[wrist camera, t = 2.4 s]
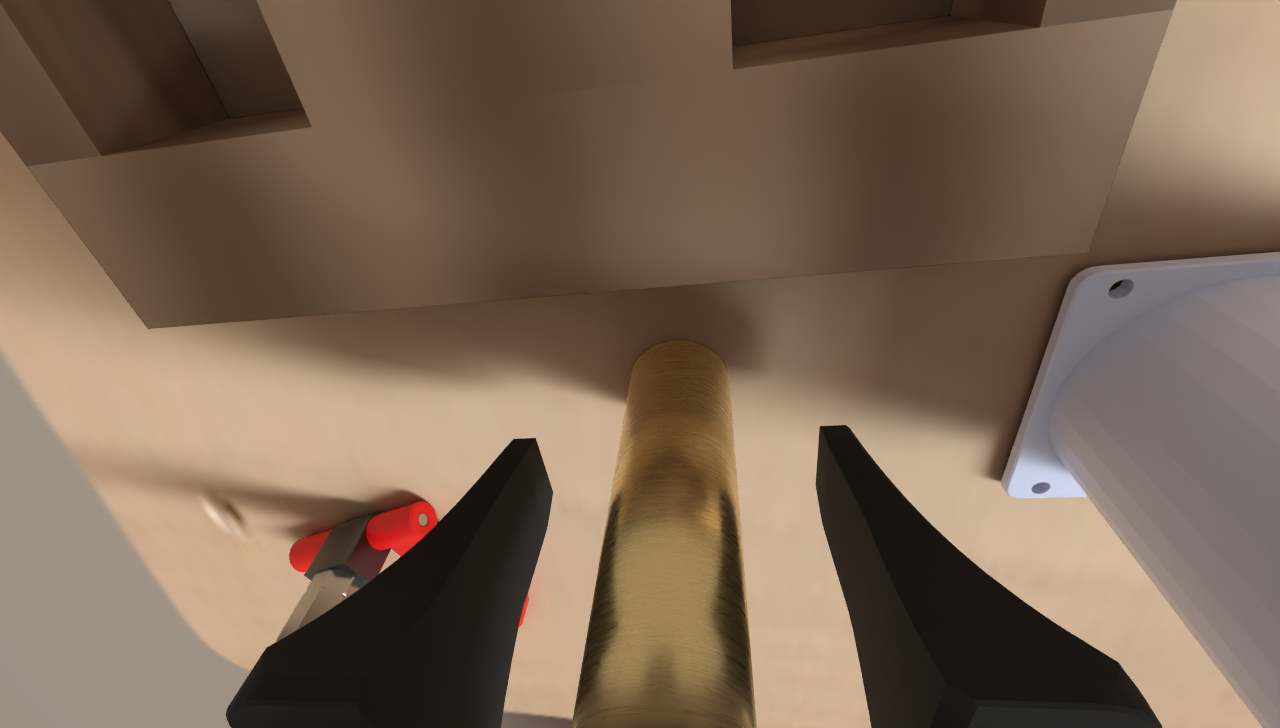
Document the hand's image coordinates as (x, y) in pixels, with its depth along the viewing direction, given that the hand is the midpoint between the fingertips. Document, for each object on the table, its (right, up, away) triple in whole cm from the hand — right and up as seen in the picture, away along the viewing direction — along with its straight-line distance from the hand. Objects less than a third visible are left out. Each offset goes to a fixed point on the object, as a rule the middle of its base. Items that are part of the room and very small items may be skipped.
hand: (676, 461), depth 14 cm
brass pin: (0, +2, +3) cm, 3 cm away
